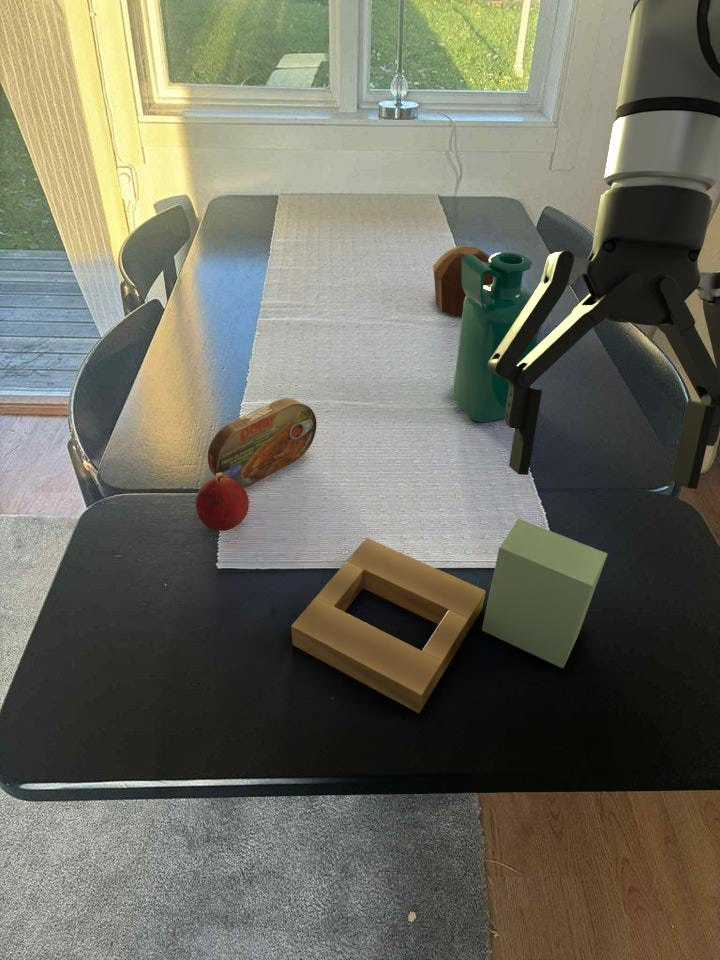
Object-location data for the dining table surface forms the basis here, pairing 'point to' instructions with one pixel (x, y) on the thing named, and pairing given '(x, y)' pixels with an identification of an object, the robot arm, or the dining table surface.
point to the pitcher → (488, 331)
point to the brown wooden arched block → (455, 278)
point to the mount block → (375, 651)
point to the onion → (222, 503)
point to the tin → (262, 441)
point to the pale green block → (541, 591)
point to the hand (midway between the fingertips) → (601, 478)
